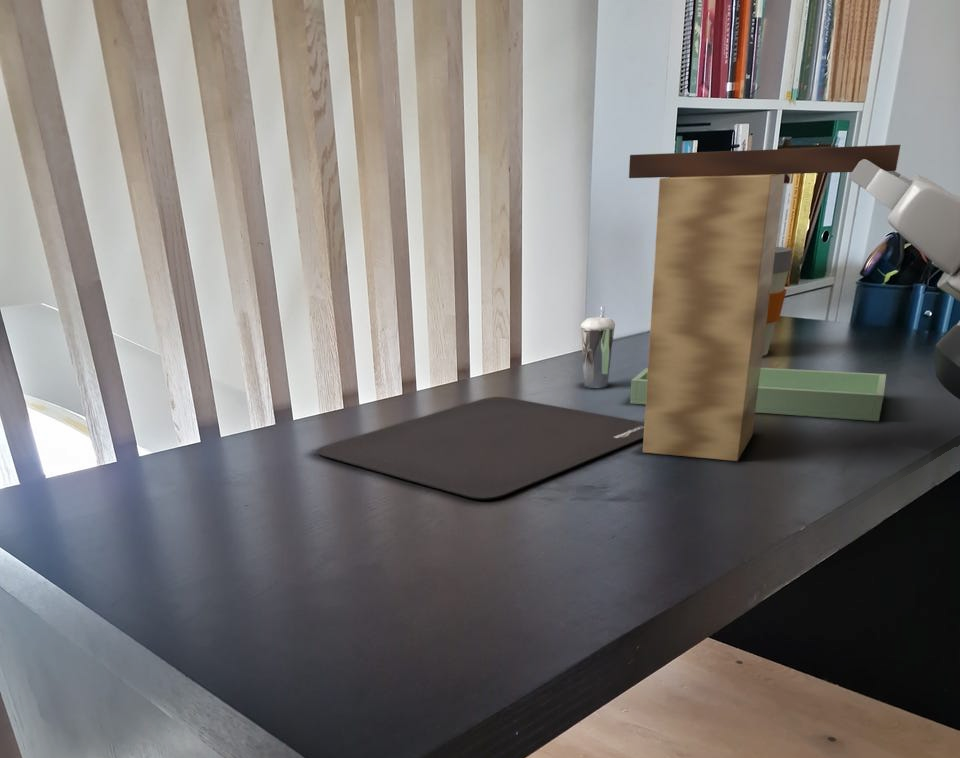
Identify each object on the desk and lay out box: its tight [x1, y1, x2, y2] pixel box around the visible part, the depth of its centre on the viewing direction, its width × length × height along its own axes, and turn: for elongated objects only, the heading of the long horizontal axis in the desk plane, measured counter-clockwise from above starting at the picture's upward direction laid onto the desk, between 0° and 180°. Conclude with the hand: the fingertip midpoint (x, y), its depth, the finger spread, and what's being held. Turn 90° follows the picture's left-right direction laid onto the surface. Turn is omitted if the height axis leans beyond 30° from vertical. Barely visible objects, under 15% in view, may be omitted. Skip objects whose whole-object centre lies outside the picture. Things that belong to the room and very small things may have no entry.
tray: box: [629, 366, 887, 422], centre depth 109 cm, size 30×12×3 cm, turn 66°
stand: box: [642, 174, 786, 462], centre depth 88 cm, size 10×10×26 cm
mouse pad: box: [316, 396, 645, 500], centre depth 97 cm, size 32×27×1 cm
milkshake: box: [580, 306, 616, 389], centre depth 118 cm, size 4×5×10 cm
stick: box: [628, 144, 901, 179], centre depth 80 cm, size 24×2×2 cm, turn 66°
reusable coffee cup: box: [762, 246, 793, 357], centre depth 133 cm, size 13×13×15 cm
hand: (858, 166), depth 77 cm, fingers open, 8 cm apart
